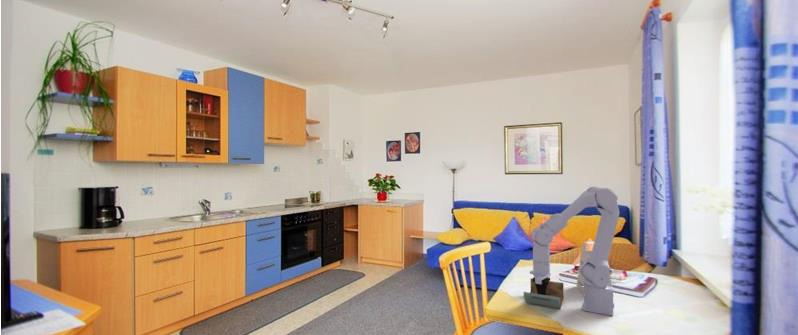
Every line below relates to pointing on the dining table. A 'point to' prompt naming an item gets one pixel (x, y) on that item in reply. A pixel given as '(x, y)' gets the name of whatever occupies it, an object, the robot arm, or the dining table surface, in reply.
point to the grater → (583, 258)
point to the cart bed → (550, 291)
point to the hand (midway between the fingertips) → (541, 297)
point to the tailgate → (542, 299)
